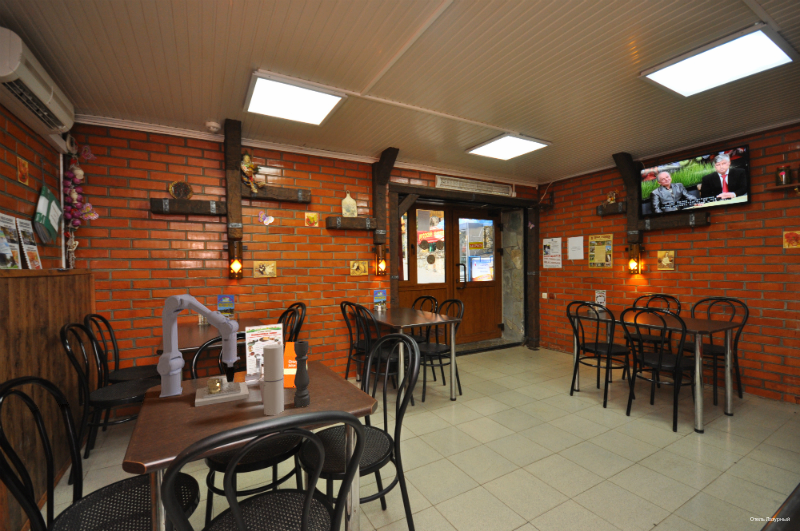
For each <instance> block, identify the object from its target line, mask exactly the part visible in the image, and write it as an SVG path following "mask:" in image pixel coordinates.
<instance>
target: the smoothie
mask: <svg viewBox="0 0 800 531" xmlns="http://www.w3.org/2000/svg"><path fill="white" fill-rule="evenodd" d="M258 383H259V389H260V396H261V403H262V404H263V405H264V376H262V377H260V378H259V379H258Z"/></svg>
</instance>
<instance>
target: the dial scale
mask: <svg viewBox="0 0 800 531" xmlns="http://www.w3.org/2000/svg"><path fill="white" fill-rule="evenodd" d="M214 378H218V379H219V381H220V382H221V385H222V384H229V383H235V379H234V380H233V382H227V378H226V375H221V376H213V377H209V378H208V380H209V379H214ZM239 384H240V388H241V392H239V393H232V394H226V395H220V396H213V397H207V398H204V387H203V388H202V387H201V388H197V389H196V392H195V400H194V407H196V408H197V407H202V406H208V405H209V406H210V405H216V404H219V403H220V404H221V403H226V402H233V401H237V400H238V401H239V400H243V399H245V400H246V399H249V398H250V392H249V388H248V384H247V381H242V382H239Z"/></svg>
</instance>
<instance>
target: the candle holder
mask: <svg viewBox="0 0 800 531" xmlns="http://www.w3.org/2000/svg"><path fill="white" fill-rule="evenodd" d="M293 342H294V351H295V354H296V355H297V356H296V357H295V360H296V361H297V369H296V374H295V378H294V385H295V387H294V388H295V389H296V390H295V392H294V396H293V406H294V407H295V406H296V407H295V408H297V407H302V406H307V405H309V404H310V405H311V396H310V391H309V389H308V386H309V385H310V376H309V372H308V366H307V367H306V360H307V361H308V360H309V356H308V355H307V354H308V352H309V345H310V344H309V341H307V340H297V341H293ZM306 355H307V356H306ZM310 405H309V406H310ZM307 407H308V406H307Z"/></svg>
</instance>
